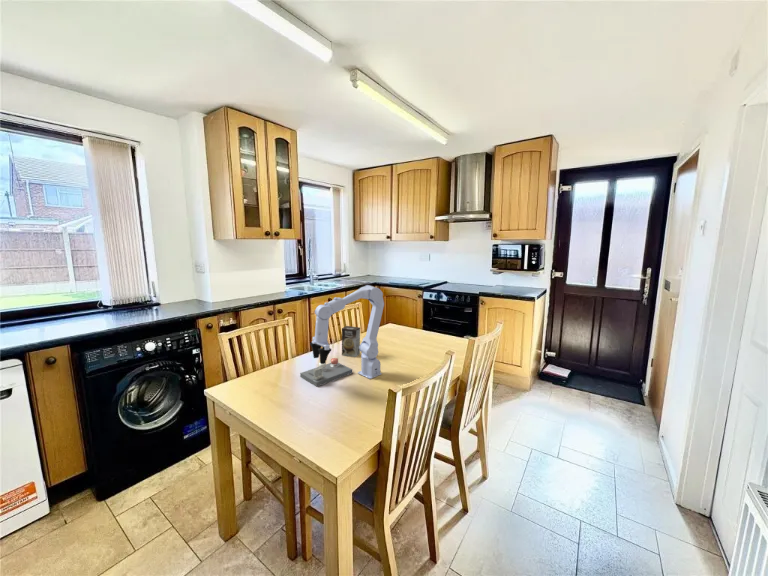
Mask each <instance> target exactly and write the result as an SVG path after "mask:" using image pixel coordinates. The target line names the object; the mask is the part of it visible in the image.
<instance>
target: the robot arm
mask: <svg viewBox="0 0 768 576" xmlns="http://www.w3.org/2000/svg"><path fill="white" fill-rule="evenodd" d="M383 296H384V293H383V291H382V290H381V289H380V288H379V287H375V286H373V285H371V284H366V285H364V286H361V287H359V288H358V289H357V290H355V291H352V293H349V294H348V295H346V296H344V297H339V296H338V297H336V296H335V297H333V299H332V300H330V301H328V302H327V301H326V302H324V304H319V305H318V306H316V308H315V310H314V314H315V316H316V317H315V318H316V319H315V329H314V336H312V339H311V340H312V341H311V342H310V344H309V345H310V347H311V350H312V357H313V359H318V358H319V363H321V364H324V363H326V364H327V359H328V356H329V354H330V353H331V351H332V348H331V347H330V344H329V341H328V337H329V336H328V335H329V323H330V322H329V321H330V318H331V317H332V315H333V314H335V313H338V312H340V311H342V310H343V309H345V308H346V305H348V304H352V303H353V302H355V301H357V300H360V299H365V300H368V301H369V303H370V304H371V305H372V308H371V311H370V316H369V320H368V324H367V329H366V334H365V336H364V337H363V338H362V341H361V342H360V346H359V349H360V353H361V355H360V356H361V360H360V361H361V362H360V363H361V365H360V366H361V367H360V368H361V370H360V371H357V374H359V375H360V376H363V377H365V378H367V379H369V380H372V379H374V378H377V377H379V376H381V375H382V372H381V361H380V360H379V359H378V358H377V356H378V354H379V342H378V340H377V338H378V334H379V329H380V326H381V325H380V324H381V321H382V315H383V312H384V311H383V310H384V307H385V300H384V297H383Z"/></svg>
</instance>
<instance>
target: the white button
mask: <svg viewBox="0 0 768 576" xmlns="http://www.w3.org/2000/svg"><path fill="white" fill-rule="evenodd" d="M326 364H327V362H326V363H324V364H321V363H320V362H318V367H319V368H326Z"/></svg>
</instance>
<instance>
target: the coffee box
mask: <svg viewBox="0 0 768 576" xmlns="http://www.w3.org/2000/svg"><path fill="white" fill-rule="evenodd" d="M360 344H361V327H358V326H352V325H351V326H350V325H345V326H344V327H342V328H341V356H344V357H345V356H346V357H351V358H357V357H358V356H359V355H360V354H361V351H360V349H359V346H360Z"/></svg>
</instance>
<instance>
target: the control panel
mask: <svg viewBox="0 0 768 576" xmlns="http://www.w3.org/2000/svg"><path fill="white" fill-rule="evenodd" d="M318 368H319V366H317V367H315V368H312V369H308V370H305V371H303V372H300V373H299V374H300V375H299V377H300V378H301V379H302V380H305V381H306V382H308V383H310V384H312V385H313V386H315V387H316V388H317V387H319V386H322V385H323V386H324V385H325V384H326V383H330V382H333V381H335V380H338V379H341V378H343V377H346V376H348V375H351V374H353V368H350V367H349V366H346V365H345V364H342V363H340V362H338V364H331V362H330V363H326V368H323V376H324V378H321V379H319V380H315V379H313V376H314V370H315V369H318Z"/></svg>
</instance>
